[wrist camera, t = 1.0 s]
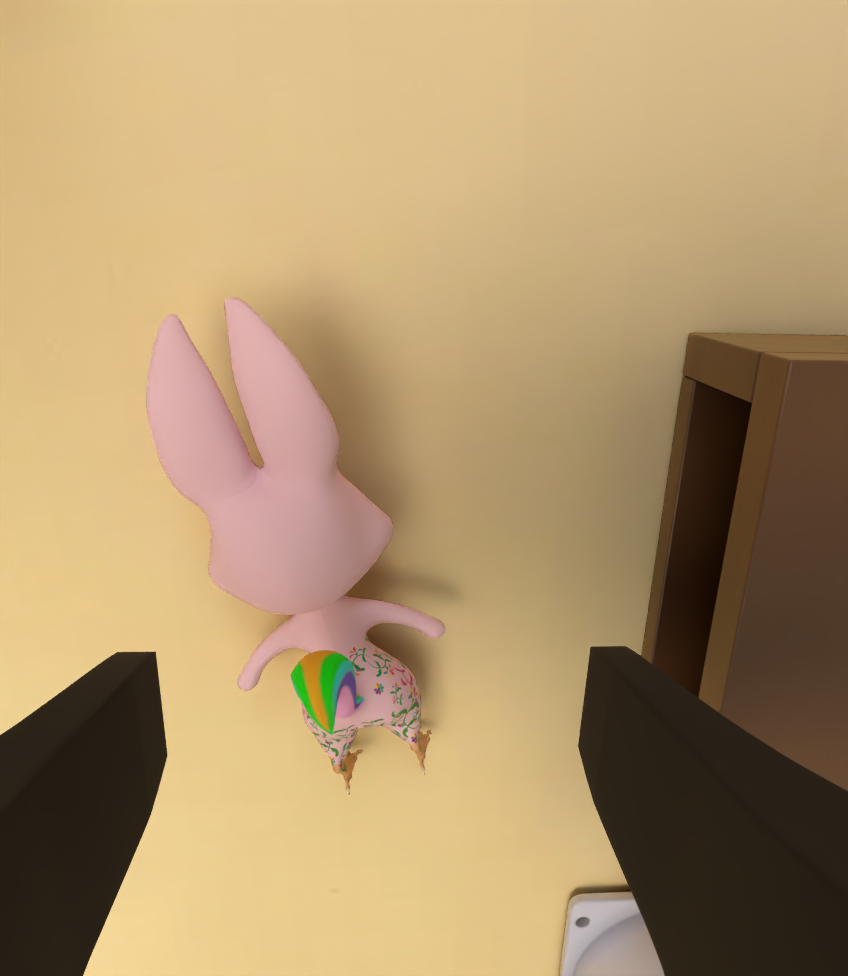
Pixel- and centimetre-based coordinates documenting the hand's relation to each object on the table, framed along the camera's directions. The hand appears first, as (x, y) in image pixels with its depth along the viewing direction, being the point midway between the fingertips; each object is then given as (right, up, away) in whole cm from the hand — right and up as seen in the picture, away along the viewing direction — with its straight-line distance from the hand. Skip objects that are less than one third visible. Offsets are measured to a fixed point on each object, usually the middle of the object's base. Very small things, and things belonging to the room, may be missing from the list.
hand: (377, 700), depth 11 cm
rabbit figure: (-2, +2, +9) cm, 10 cm away
